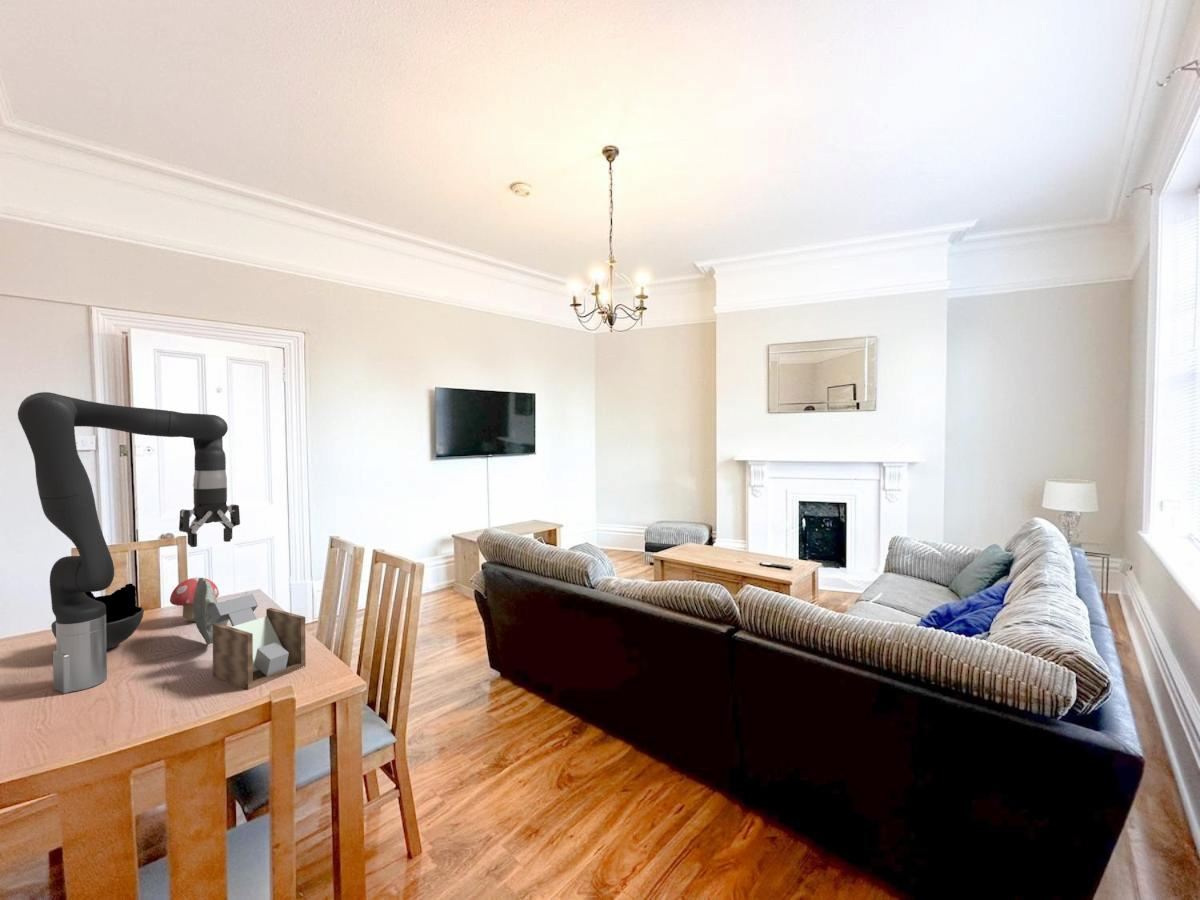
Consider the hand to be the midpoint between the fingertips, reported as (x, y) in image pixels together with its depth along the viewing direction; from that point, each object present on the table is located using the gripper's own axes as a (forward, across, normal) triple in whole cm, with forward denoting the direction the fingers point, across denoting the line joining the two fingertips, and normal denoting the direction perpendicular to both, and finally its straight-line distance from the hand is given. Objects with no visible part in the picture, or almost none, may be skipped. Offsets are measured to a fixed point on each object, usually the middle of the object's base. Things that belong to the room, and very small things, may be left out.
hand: (210, 544), depth 148 cm
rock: (+34, +7, +16) cm, 38 cm away
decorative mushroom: (+34, +16, +42) cm, 56 cm away
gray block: (+29, +4, -19) cm, 34 cm away
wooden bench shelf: (+34, +4, -16) cm, 38 cm away
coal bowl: (+34, -10, +40) cm, 53 cm away
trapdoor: (+27, +4, -9) cm, 28 cm away
